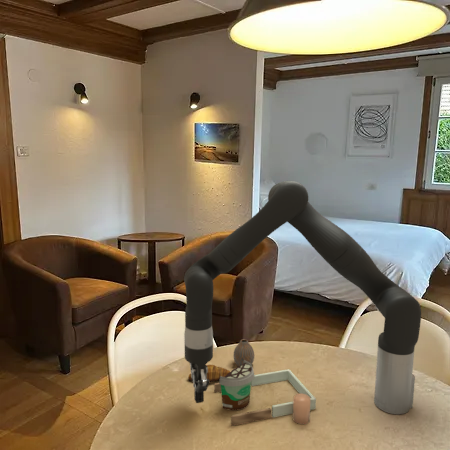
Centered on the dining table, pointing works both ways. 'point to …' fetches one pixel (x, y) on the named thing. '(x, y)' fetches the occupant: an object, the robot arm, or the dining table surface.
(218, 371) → the croissant
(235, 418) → the brown flat strips
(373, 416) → the dining table surface
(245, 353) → the vase
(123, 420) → the dining table surface
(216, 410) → the dining table surface
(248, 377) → the food container
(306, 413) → the tan rounded piece
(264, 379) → the bay
